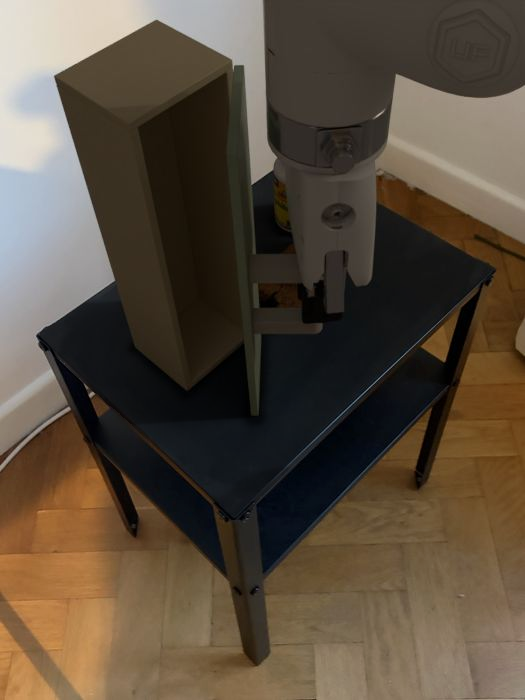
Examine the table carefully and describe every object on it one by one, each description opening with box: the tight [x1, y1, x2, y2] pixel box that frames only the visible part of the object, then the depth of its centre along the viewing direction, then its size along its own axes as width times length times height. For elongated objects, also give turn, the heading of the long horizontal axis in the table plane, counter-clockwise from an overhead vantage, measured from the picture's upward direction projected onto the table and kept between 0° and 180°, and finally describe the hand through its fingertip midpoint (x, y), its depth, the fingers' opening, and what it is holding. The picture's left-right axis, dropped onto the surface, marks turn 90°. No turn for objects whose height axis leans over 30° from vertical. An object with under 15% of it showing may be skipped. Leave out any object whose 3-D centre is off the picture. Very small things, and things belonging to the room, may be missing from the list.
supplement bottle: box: [272, 157, 292, 234], centre depth 81 cm, size 6×6×10 cm
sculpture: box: [258, 242, 302, 308], centre depth 76 cm, size 8×10×15 cm
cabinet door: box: [226, 64, 324, 417], centre depth 60 cm, size 6×9×31 cm
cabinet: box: [53, 19, 244, 392], centre depth 63 cm, size 8×9×31 cm
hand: (319, 306), depth 59 cm, fingers closed on cabinet door
